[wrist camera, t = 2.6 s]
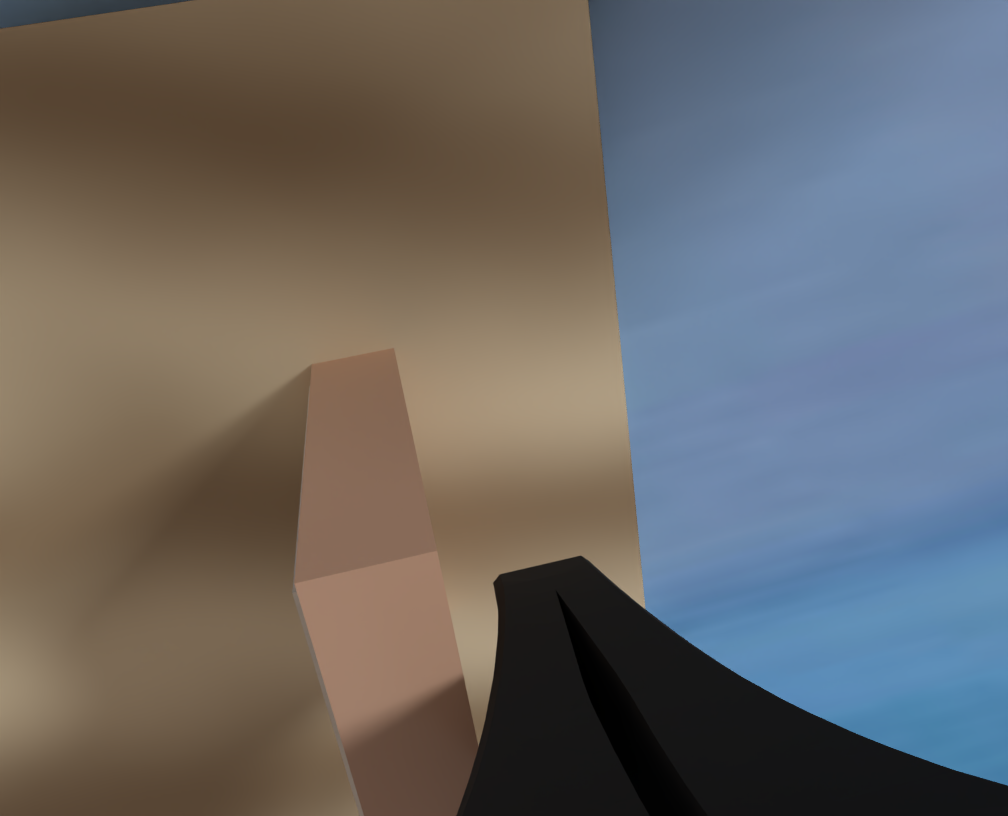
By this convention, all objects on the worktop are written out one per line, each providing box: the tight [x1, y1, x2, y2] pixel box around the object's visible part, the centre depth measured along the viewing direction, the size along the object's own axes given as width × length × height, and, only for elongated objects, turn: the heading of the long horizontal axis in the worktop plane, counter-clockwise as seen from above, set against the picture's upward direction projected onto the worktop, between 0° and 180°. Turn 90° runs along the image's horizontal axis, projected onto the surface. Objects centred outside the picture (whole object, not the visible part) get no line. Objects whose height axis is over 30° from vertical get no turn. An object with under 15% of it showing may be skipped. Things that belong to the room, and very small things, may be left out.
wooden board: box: [0, 0, 645, 816], centre depth 16 cm, size 18×15×1 cm
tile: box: [292, 348, 479, 816], centre depth 13 cm, size 6×2×7 cm, turn 8°
